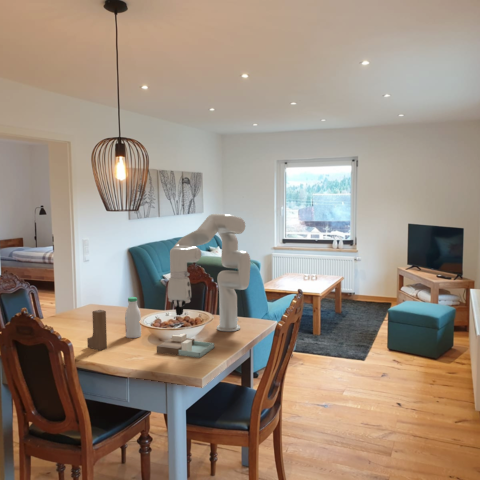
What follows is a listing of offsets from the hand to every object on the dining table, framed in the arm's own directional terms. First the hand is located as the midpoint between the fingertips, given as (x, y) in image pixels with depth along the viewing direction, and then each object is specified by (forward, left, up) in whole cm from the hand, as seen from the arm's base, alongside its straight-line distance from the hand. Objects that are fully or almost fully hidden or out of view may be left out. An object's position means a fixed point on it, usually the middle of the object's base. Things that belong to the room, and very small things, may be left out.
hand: (179, 314), depth 209 cm
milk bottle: (-12, -34, -17) cm, 40 cm away
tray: (-2, +8, -17) cm, 19 cm away
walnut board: (-2, -3, -17) cm, 17 cm away
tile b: (+3, +4, -14) cm, 14 cm away
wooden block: (+10, -39, -17) cm, 44 cm away
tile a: (-6, -4, -14) cm, 16 cm away
